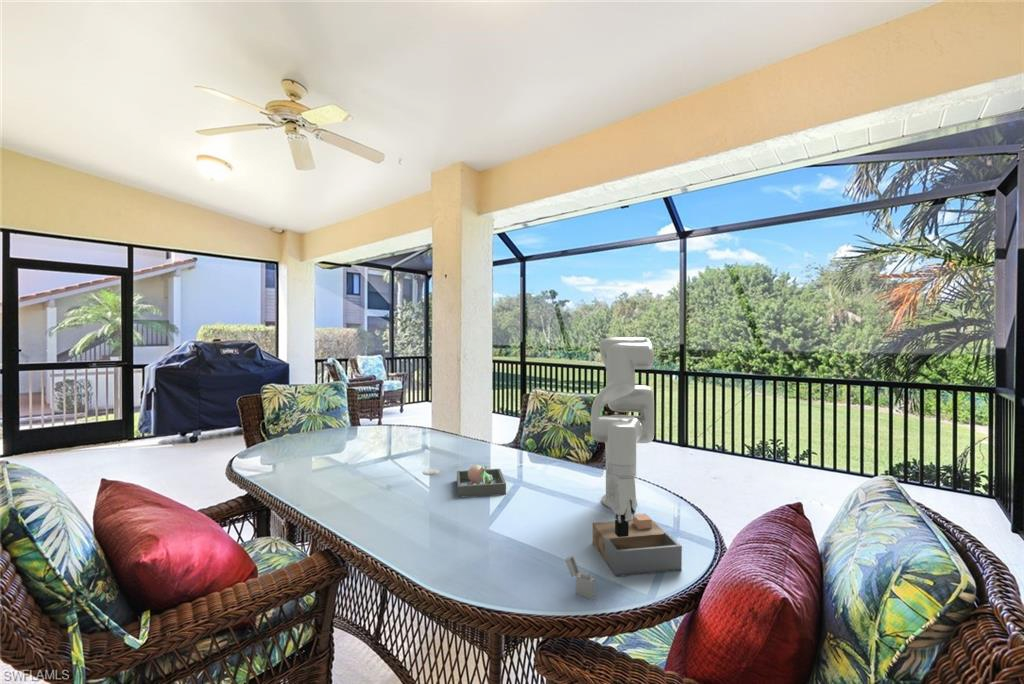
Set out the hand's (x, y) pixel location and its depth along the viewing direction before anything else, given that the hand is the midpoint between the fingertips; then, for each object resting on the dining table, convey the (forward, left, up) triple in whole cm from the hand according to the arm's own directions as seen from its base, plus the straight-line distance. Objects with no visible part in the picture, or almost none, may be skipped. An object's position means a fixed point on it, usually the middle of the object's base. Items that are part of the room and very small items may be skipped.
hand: (621, 535), depth 123 cm
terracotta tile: (-7, +9, -1) cm, 11 cm away
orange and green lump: (-62, -33, -7) cm, 71 cm away
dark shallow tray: (-62, -33, -7) cm, 71 cm away
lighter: (+12, -15, -7) cm, 21 cm away
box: (+3, +5, -7) cm, 9 cm away
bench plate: (-6, +5, -7) cm, 10 cm away
